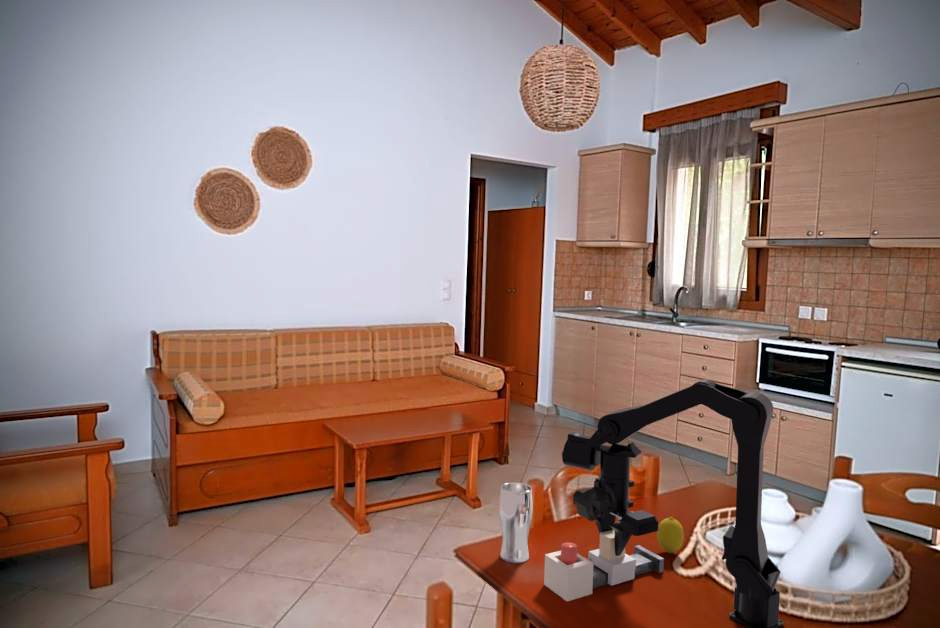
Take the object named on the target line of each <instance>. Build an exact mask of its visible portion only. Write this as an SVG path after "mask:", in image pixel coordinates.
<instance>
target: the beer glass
mask: <svg viewBox="0 0 940 628" xmlns="http://www.w3.org/2000/svg"><path fill="white" fill-rule="evenodd" d="M533 503H534V502H533V487H532V486H531V485H530V484H528V483H523V482H517V481H516V482H515V481H513V482H506V483H504V484H501V486H500V494H499V504H498V505H499V510H498V511H499V520H500V526H501V535H502V541H501V549H500V554H499V555H500V558H501V560H503V561H504V562H507V563H509V564H510V563H512V564H522V563H524V562H527V561H528V560H529V558H530V554H529V553H530V552H529V547H528V539H529V533H530V529H531V524H532V518H533V505H534V504H533Z"/></svg>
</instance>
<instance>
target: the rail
mask: <svg viewBox="0 0 940 628" xmlns="http://www.w3.org/2000/svg"><path fill="white" fill-rule="evenodd" d="M633 549H634V551H633V552H634V553H632V554H630V555H629V556H631V557H632V558H634V559H636V569H635V576H638V575H641V574H645V573H649V572H652V571H654V572H656V573H658V574H661V573H663V572H664V566H665V565H664V564H665V558H664V557H662V556H660V555H658V554H656V553H654V552H652V551H651V550H649V549H647V548H645V547H643V546H642V545H639V544H638V545H637V544H636V545H635V546H634V548H633ZM635 576H634V577H635ZM606 585H609V584H608V573H607V572H605V571H603V570H602V569H600V568H599V567H597V566H595V565H594V566H593V588H592V589H595V588H599V587H602V586H606Z"/></svg>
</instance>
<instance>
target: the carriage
mask: <svg viewBox="0 0 940 628" xmlns="http://www.w3.org/2000/svg"><path fill="white" fill-rule="evenodd" d="M598 547H599V548H597V549H592V550H589V551H588V558H587V559H588V560H589V561H591V562H593V566H594V565H595V566H597V567H599V568H600V569H602V570H603V571H605V572H607V573H608V584H607V585H609V586H615V585H619V584H621V583H626V582H628V581H631V580H635V569H636V559H634V558H632V557H631V556H630V555H629V554H627V553H626V547H625V548H624V550H623V552H622V554H621V555H619V556H616V555H615V536H614V530H610V531H606V532H602V533H600V534H599V546H598Z"/></svg>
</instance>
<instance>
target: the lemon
mask: <svg viewBox="0 0 940 628" xmlns="http://www.w3.org/2000/svg"><path fill="white" fill-rule="evenodd" d="M656 538H657V543H658V544H659V546H660V547H661V548H662V550H664V551H666V552H667V553H668V554H672V553H673V552H677V551H679V550H680V549H681V548H682V546H683V544H684V541H685V540H684V539H685V534H684V528H683V525H682V524H681V523H680V522H679V520H677V519H675V518H674V517H672V516H669V517H667V518H664V519H662V520H661V521H660V522H659V523H658V531H656Z"/></svg>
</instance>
